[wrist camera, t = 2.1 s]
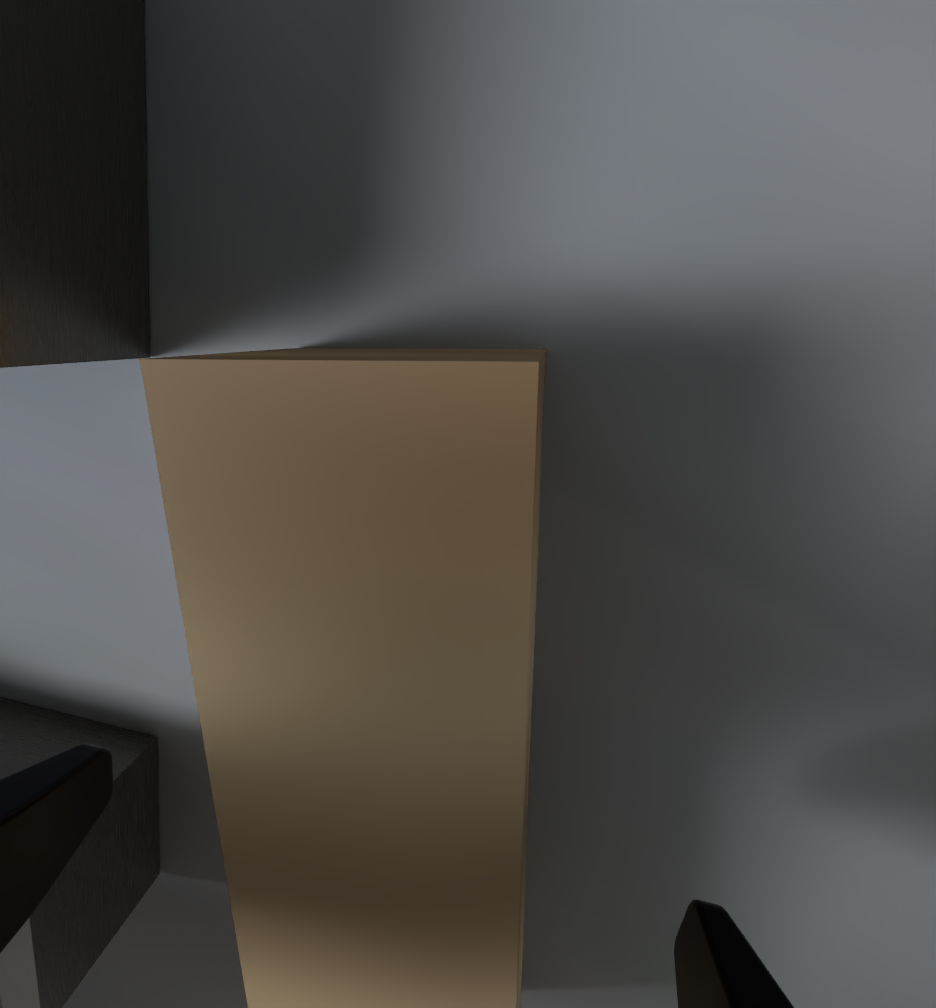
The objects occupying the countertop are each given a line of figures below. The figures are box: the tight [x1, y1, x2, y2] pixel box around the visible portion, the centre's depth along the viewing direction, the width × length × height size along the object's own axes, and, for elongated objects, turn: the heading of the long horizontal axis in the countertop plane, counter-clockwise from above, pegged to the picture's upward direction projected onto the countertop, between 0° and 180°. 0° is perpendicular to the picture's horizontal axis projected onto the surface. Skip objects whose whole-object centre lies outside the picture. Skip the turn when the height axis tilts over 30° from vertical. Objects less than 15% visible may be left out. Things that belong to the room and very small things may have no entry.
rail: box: [140, 348, 546, 1008], centre depth 9 cm, size 14×4×4 cm, turn 0°
